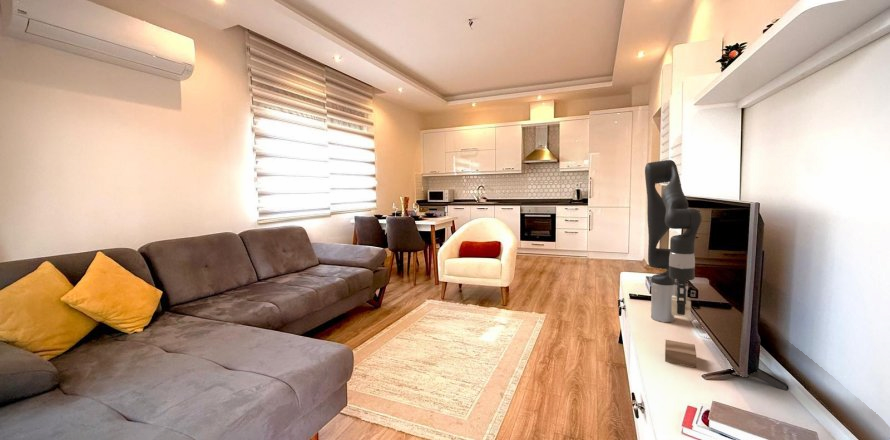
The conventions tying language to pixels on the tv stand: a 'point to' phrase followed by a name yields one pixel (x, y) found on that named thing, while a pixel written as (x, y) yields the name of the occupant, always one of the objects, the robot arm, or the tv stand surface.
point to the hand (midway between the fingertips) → (680, 311)
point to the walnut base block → (680, 353)
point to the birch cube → (687, 307)
